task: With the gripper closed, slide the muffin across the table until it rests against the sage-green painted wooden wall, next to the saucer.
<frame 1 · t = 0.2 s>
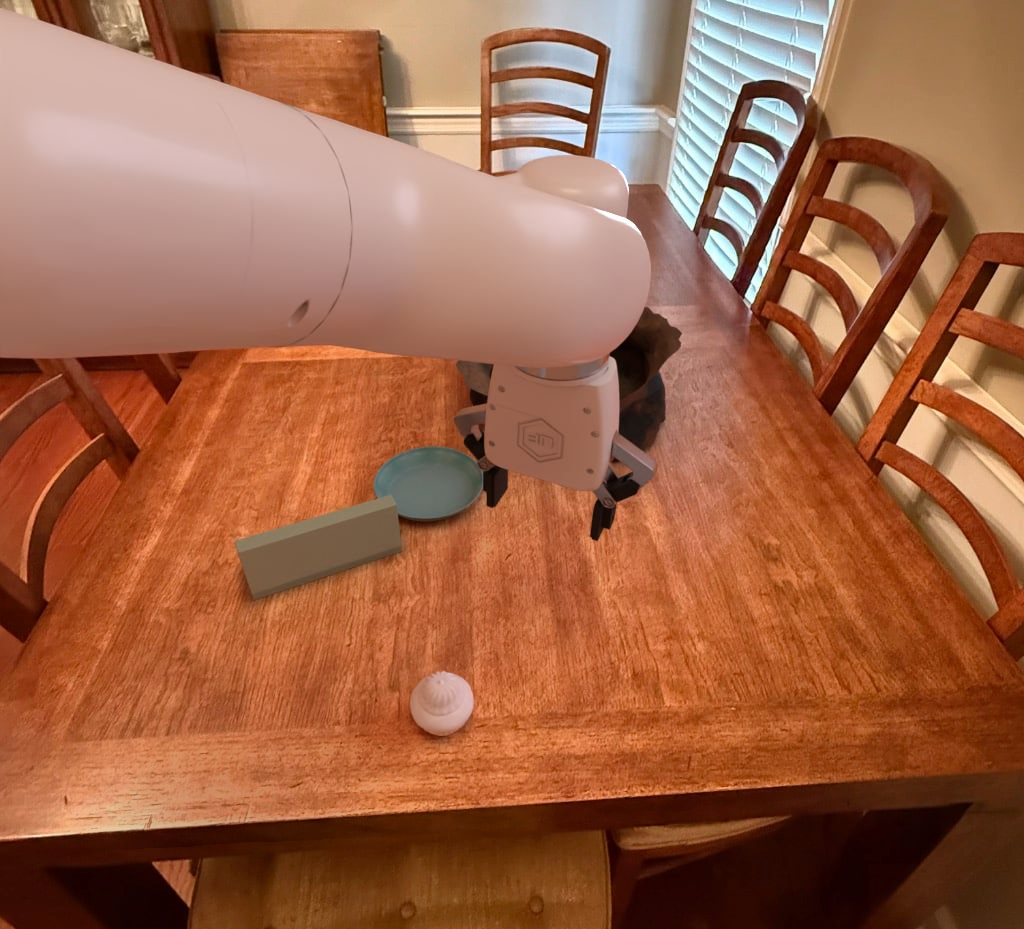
hand: (546, 513, 61), 21 cm above the table, tool pointing down, fingers open, 9 cm apart
saucer: (430, 495, 95), on the table
bowl: (560, 411, 111), on the table
wall: (328, 569, 84), on the table
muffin: (443, 722, 69), on the table
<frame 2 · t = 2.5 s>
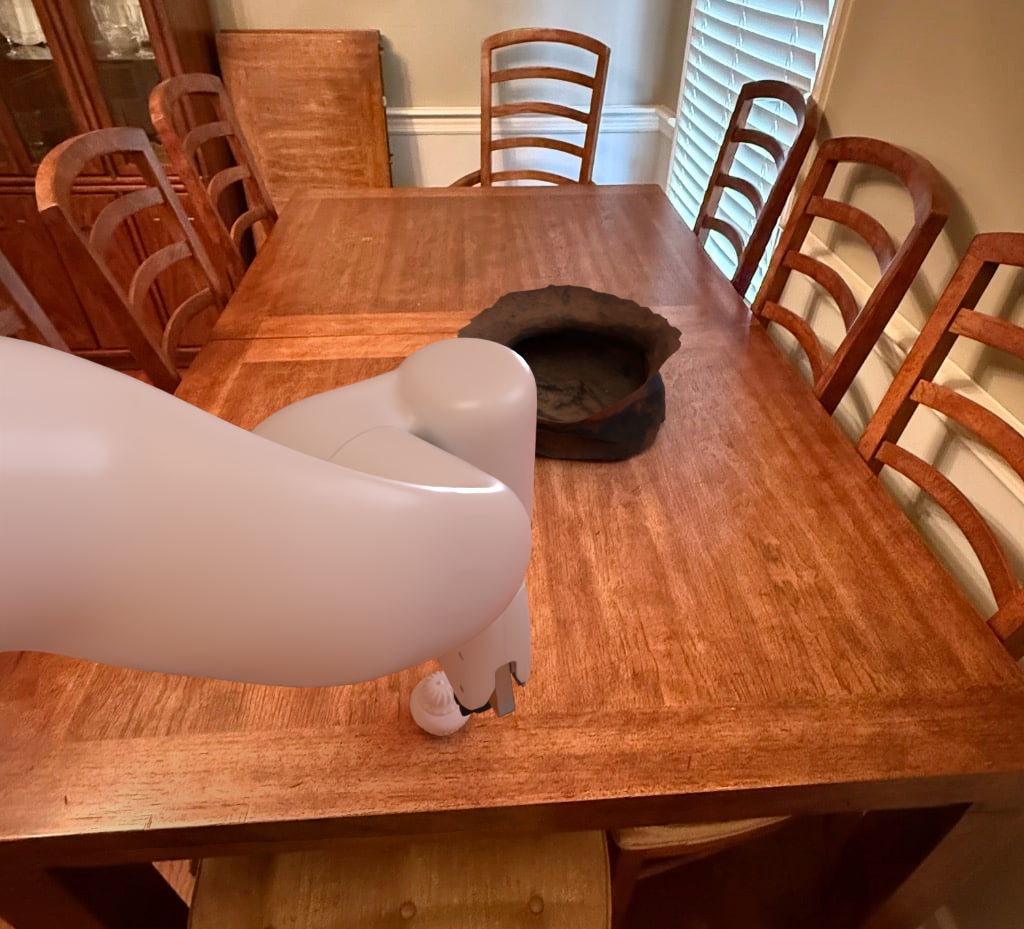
hand: (477, 700, 54), 15 cm above the table, tool pointing down, fingers closed
nothing on the table moved.
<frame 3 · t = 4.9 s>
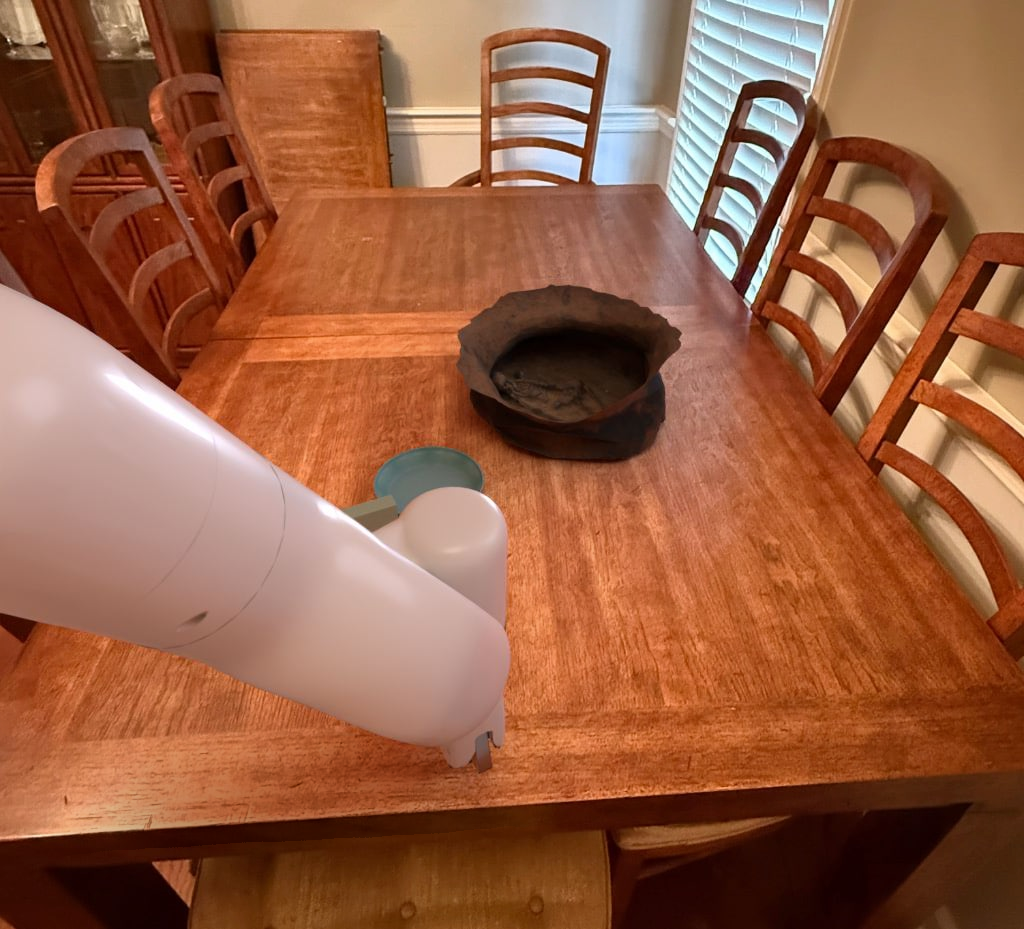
hand: (462, 753, 64), 2 cm above the table, tool pointing down, fingers closed
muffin: (442, 719, 69), on the table, touching gripper
everything else where it was.
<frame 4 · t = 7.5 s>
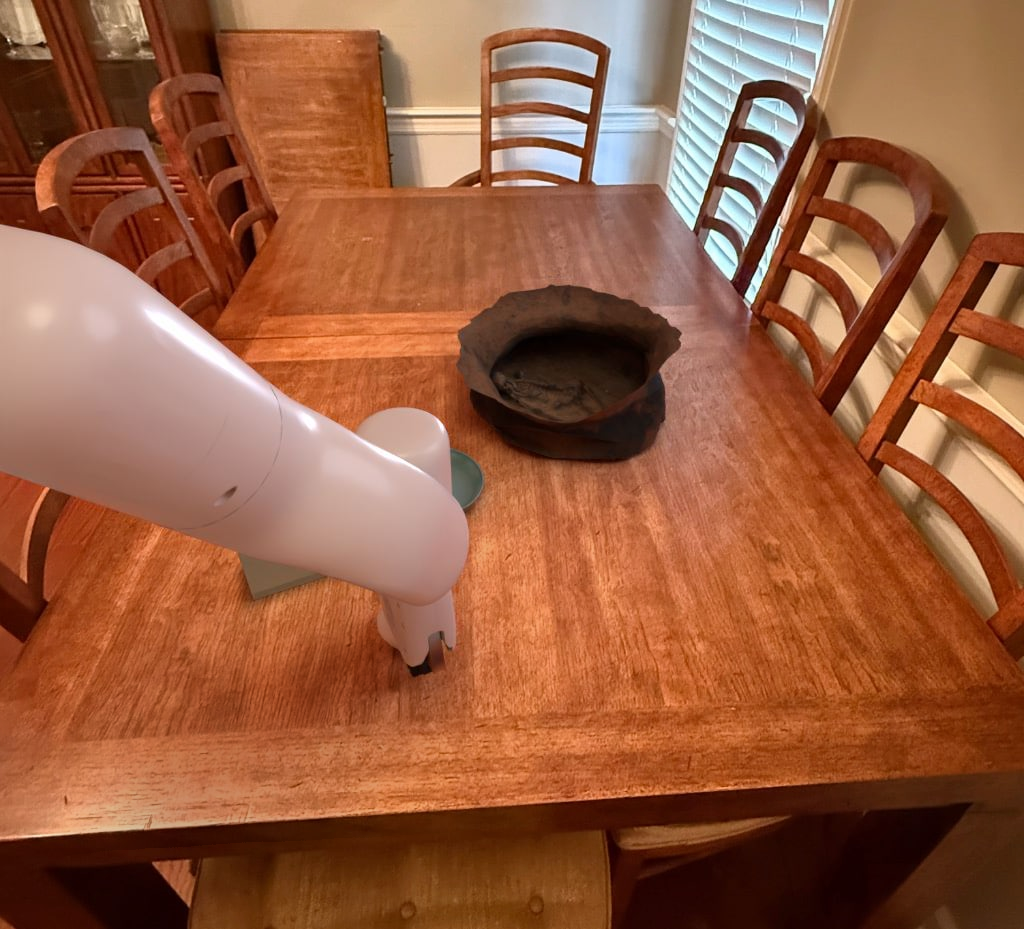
hand: (424, 666, 71), 2 cm above the table, tool pointing down, fingers closed
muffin: (408, 641, 76), on the table, touching gripper
everything else where it was.
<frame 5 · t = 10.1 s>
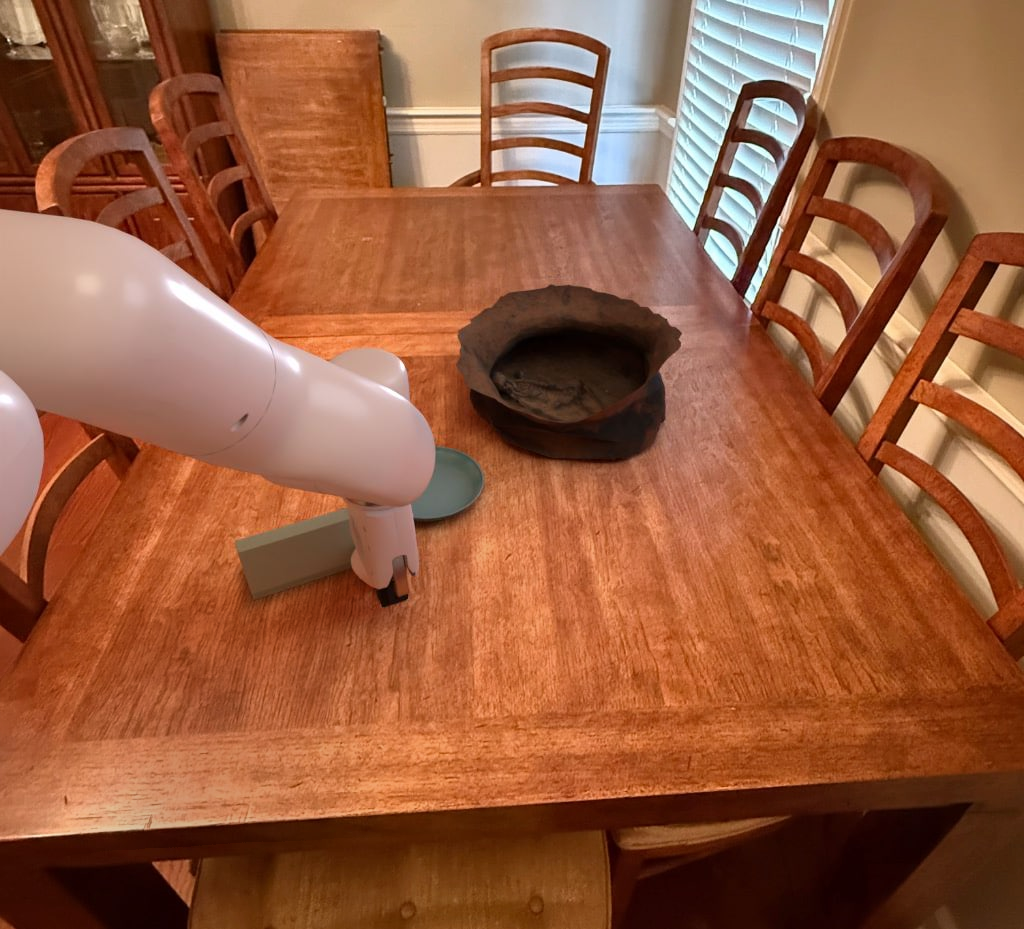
hand: (393, 598, 78), 2 cm above the table, tool pointing down, fingers closed
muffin: (380, 579, 83), on the table, touching gripper, wall
everything else where it was.
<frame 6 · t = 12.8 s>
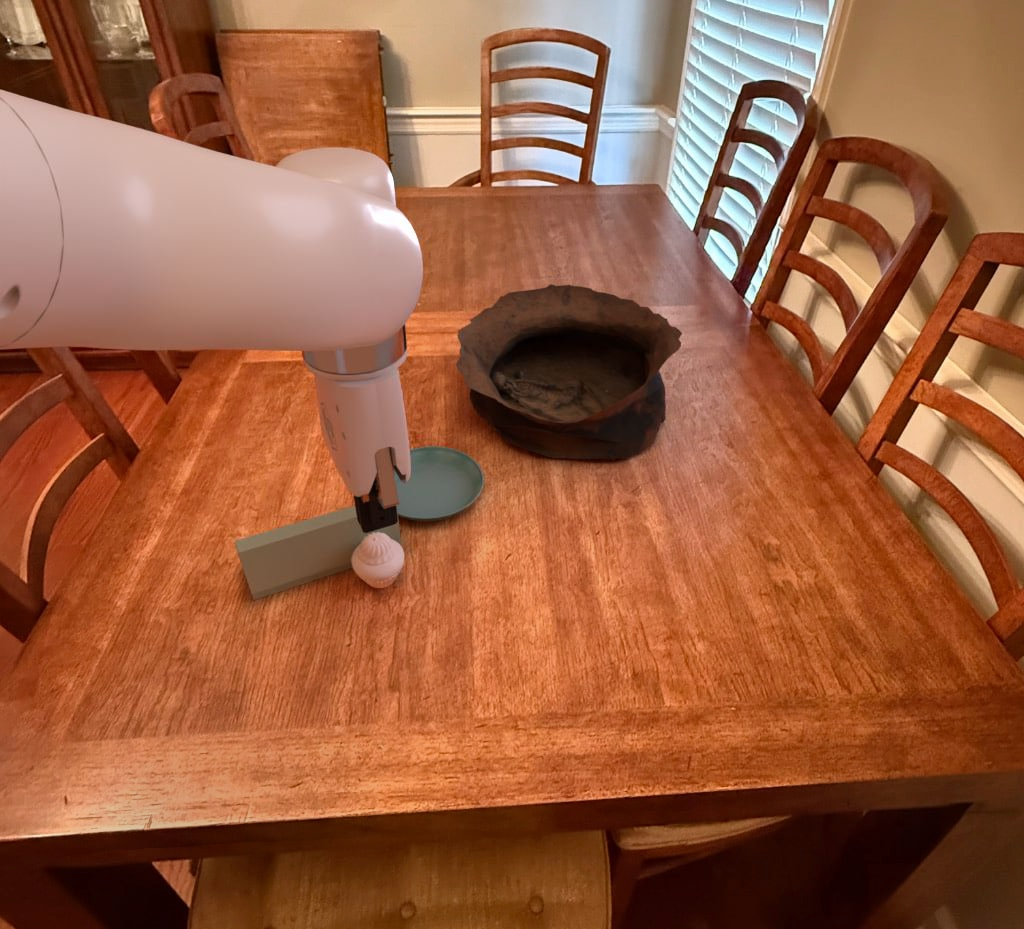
hand: (378, 522, 61), 20 cm above the table, tool pointing down, fingers closed
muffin: (381, 579, 83), on the table, touching wall
everything else where it was.
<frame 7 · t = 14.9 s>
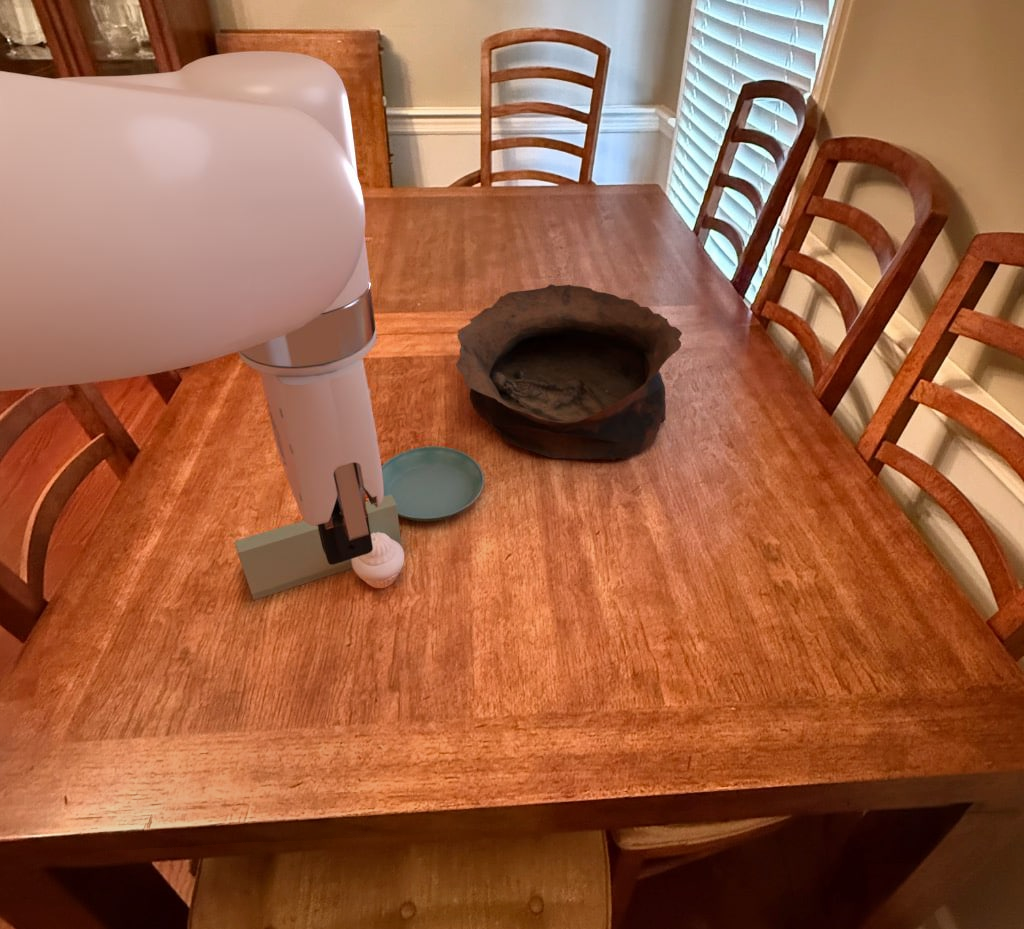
hand: (348, 550, 49), 27 cm above the table, tool pointing down, fingers closed
nothing on the table moved.
at the end: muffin inside the target area on the wall (1.3 cm from its centre), point 0.0 cm above the wall's base; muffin 15.8 cm from the saucer (horizontally); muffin tilted 0° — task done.
